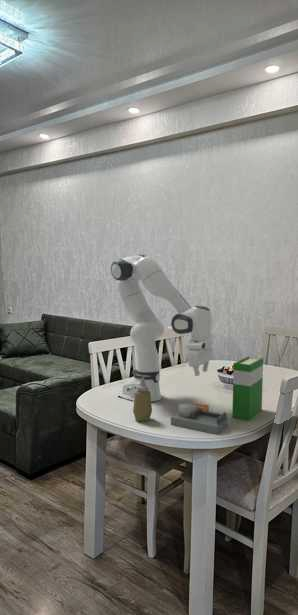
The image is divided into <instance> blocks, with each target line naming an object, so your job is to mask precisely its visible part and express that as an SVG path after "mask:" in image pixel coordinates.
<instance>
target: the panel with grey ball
mask: <svg viewBox="0 0 298 615" xmlns="http://www.w3.org/2000/svg"><path fill="white" fill-rule="evenodd" d="M228 418H229V417H227V412H223V413H222V414H221V413H216V412H211V411H209V412H207V411H201V408H198V409H197V410H196V406H195V405H194V404H192V403H188V402H187V403H186V402H183V403H180V404H179V405H178V412H177V413H176V414H174V415H173V416H171V417H170V425H172V426H176V427H180V428H186V429H189V430H195V431H199V432H203V431H204V432H203V433H208V432H209V434H213V433H214V435H219V433H220V432H221V431H222V430H224V429H225V428H226V427H227V426H228ZM225 426H226V427H225Z"/></svg>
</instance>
